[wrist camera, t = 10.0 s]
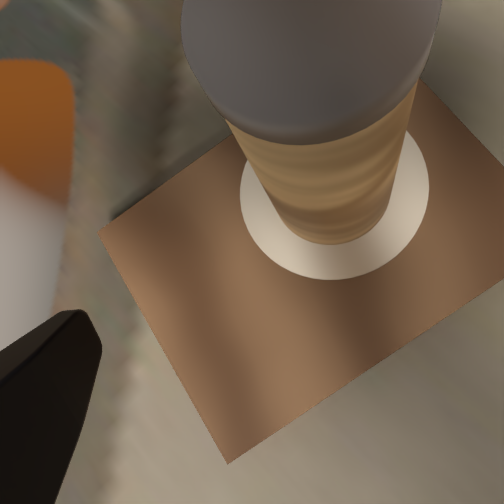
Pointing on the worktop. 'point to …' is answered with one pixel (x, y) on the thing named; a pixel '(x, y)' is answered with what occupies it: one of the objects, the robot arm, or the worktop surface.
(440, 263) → the walnut board
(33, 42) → the worktop surface
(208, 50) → the tan jar with lid
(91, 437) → the worktop surface
